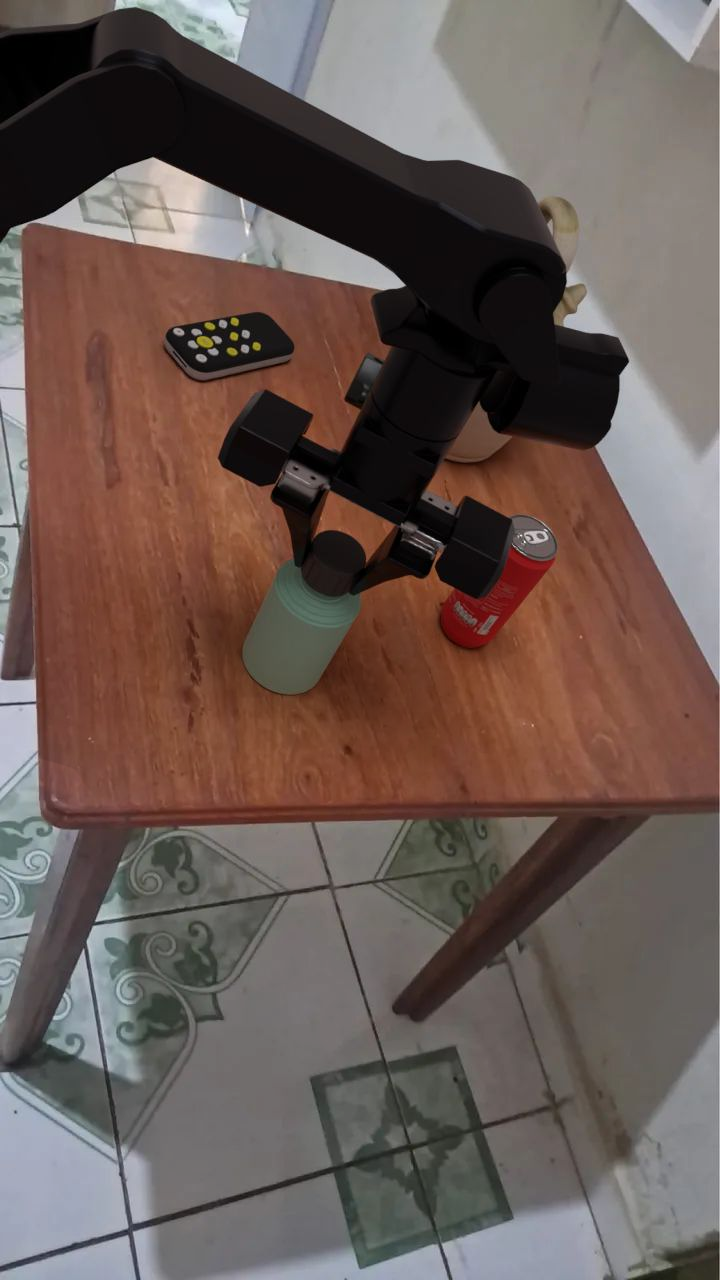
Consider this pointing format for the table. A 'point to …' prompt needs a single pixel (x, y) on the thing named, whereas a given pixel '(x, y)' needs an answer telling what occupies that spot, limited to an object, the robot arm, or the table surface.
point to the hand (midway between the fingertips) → (326, 576)
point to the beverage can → (502, 586)
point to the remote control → (228, 345)
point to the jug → (477, 432)
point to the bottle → (296, 633)
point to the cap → (333, 563)
